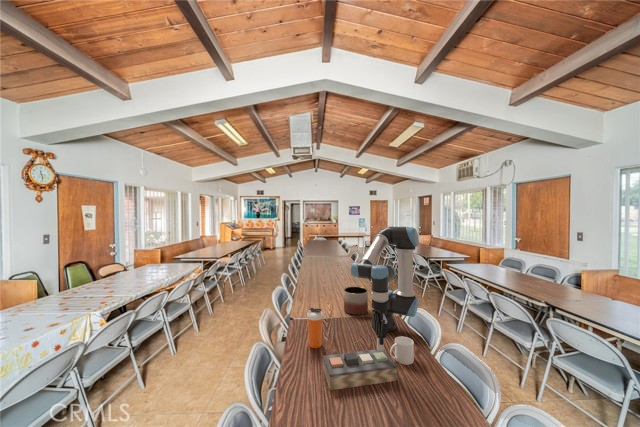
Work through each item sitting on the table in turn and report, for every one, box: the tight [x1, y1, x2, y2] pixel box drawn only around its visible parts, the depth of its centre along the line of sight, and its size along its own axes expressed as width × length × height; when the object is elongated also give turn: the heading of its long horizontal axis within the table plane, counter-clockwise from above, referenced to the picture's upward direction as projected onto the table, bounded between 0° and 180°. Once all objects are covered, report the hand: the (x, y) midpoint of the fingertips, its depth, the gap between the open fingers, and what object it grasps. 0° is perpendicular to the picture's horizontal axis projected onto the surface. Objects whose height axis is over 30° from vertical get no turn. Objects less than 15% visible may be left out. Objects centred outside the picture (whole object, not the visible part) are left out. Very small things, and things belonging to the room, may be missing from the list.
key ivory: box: [359, 354, 373, 364], centre depth 114 cm, size 5×5×4 cm
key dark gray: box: [344, 351, 358, 366], centre depth 112 cm, size 5×5×4 cm
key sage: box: [373, 352, 388, 362], centre depth 115 cm, size 5×5×4 cm
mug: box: [389, 335, 415, 366], centre depth 125 cm, size 12×9×9 cm
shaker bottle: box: [306, 307, 324, 349], centre depth 139 cm, size 9×9×20 cm
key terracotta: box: [329, 357, 343, 368], centre depth 111 cm, size 5×5×4 cm
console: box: [322, 348, 398, 391], centre depth 113 cm, size 30×14×6 cm, turn 101°
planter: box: [343, 286, 369, 316], centre depth 186 cm, size 18×18×16 cm
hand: (380, 350), depth 115 cm, fingers closed
